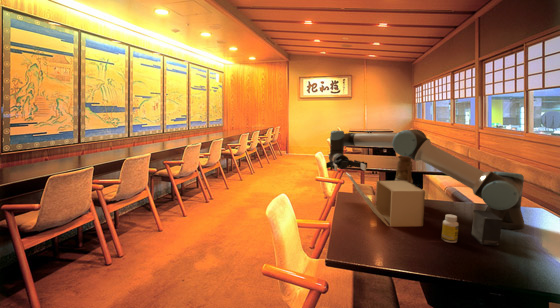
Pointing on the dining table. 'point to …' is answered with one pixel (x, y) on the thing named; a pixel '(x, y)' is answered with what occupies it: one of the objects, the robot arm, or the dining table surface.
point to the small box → (486, 227)
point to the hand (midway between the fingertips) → (351, 168)
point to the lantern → (404, 169)
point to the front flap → (367, 199)
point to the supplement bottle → (450, 228)
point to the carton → (400, 203)
